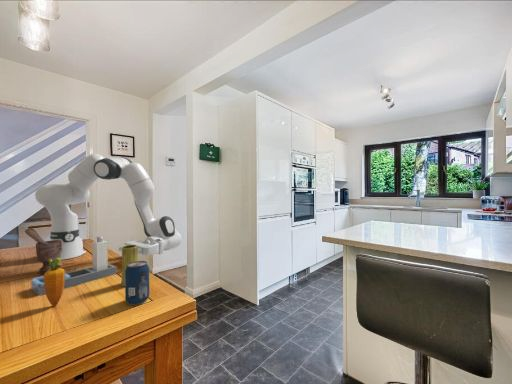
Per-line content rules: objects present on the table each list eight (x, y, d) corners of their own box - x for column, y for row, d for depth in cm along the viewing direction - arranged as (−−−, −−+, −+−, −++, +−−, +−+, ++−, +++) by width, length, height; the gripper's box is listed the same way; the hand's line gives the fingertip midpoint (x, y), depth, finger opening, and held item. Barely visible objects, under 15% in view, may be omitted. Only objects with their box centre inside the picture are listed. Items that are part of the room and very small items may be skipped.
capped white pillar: (92, 275, 98) (92, 237, 98) (103, 272, 101) (103, 235, 101) (97, 277, 95) (96, 238, 95) (107, 274, 99) (107, 236, 99)
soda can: (133, 295, 78) (132, 260, 78) (153, 295, 78) (153, 260, 78) (120, 305, 72) (120, 267, 71) (142, 306, 71) (142, 267, 71)
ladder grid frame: (30, 289, 84) (30, 279, 84) (106, 269, 105) (106, 261, 105) (38, 295, 79) (38, 284, 79) (116, 273, 99) (116, 264, 99)
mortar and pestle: (28, 278, 94) (28, 229, 94) (24, 274, 100) (23, 227, 99) (64, 270, 104) (64, 225, 104) (58, 266, 109) (58, 224, 109)
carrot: (43, 306, 71) (42, 257, 71) (63, 300, 75) (63, 254, 75) (45, 312, 68) (44, 261, 68) (66, 305, 72) (66, 257, 72)
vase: (131, 287, 85) (130, 248, 85) (116, 286, 86) (116, 247, 86) (142, 281, 91) (142, 244, 91) (129, 279, 92) (128, 244, 92)
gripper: (141, 236, 124) (113, 241, 112) (164, 241, 113) (136, 247, 101) (141, 248, 124) (113, 254, 113) (164, 254, 113) (136, 261, 101)
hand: (124, 250), depth 107 cm, fingers open, 8 cm apart
